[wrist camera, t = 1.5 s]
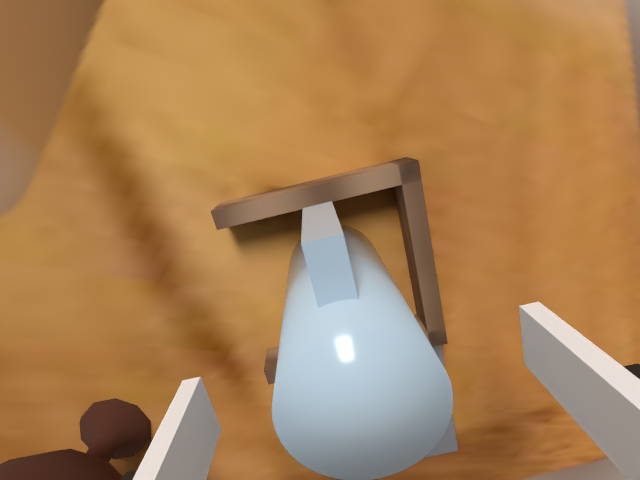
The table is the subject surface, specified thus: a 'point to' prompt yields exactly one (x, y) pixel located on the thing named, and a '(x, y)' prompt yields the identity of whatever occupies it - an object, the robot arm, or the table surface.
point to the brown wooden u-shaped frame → (352, 184)
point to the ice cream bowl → (103, 441)
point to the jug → (353, 361)
